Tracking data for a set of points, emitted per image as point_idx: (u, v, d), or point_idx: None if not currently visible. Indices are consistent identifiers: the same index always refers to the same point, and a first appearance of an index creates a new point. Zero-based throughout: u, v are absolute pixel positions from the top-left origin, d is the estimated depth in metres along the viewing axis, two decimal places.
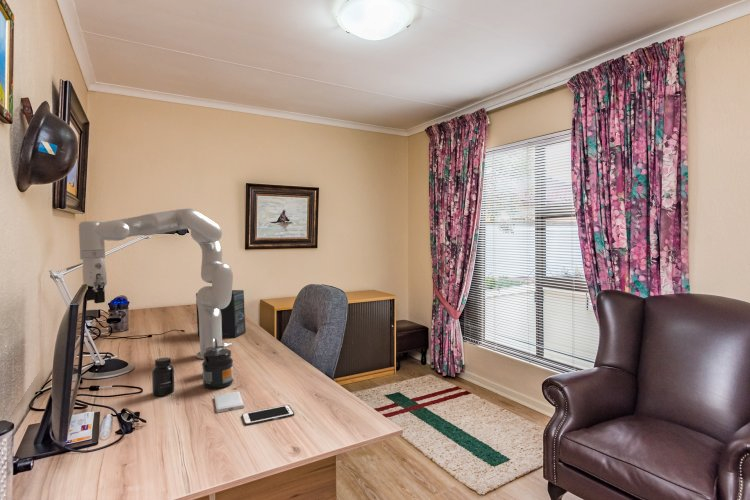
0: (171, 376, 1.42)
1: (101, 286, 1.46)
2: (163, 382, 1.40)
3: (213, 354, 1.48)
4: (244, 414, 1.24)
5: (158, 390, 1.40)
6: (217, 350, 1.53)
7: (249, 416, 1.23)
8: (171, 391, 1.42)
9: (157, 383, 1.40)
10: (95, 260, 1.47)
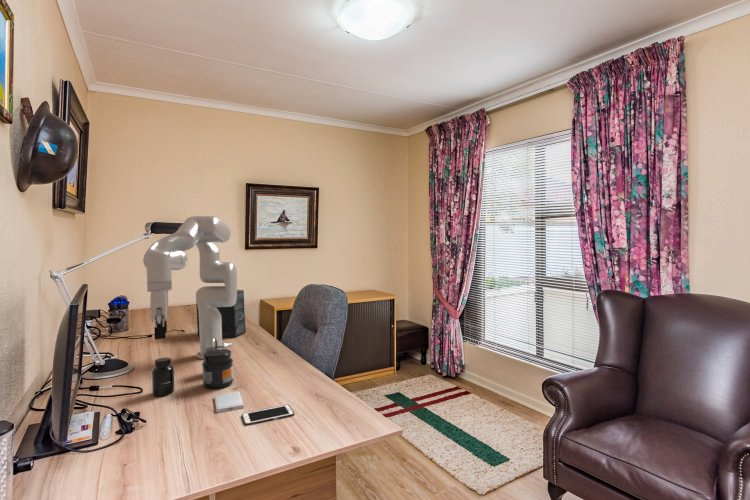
0: (171, 376, 1.42)
1: None
2: (163, 382, 1.40)
3: (213, 354, 1.48)
4: (244, 414, 1.24)
5: (158, 390, 1.40)
6: (217, 350, 1.53)
7: (249, 416, 1.23)
8: (171, 391, 1.42)
9: (157, 383, 1.40)
10: None
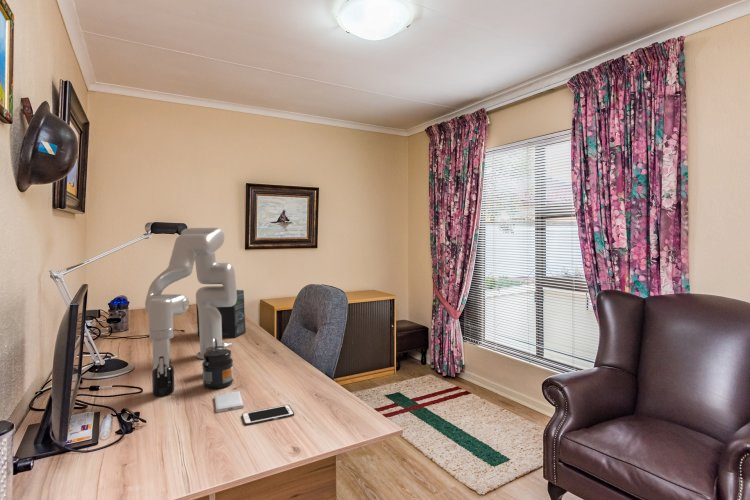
0: (171, 376, 1.42)
1: None
2: None
3: (213, 354, 1.48)
4: (244, 414, 1.24)
5: (158, 390, 1.40)
6: (217, 350, 1.53)
7: (249, 416, 1.23)
8: (171, 391, 1.42)
9: None
10: None
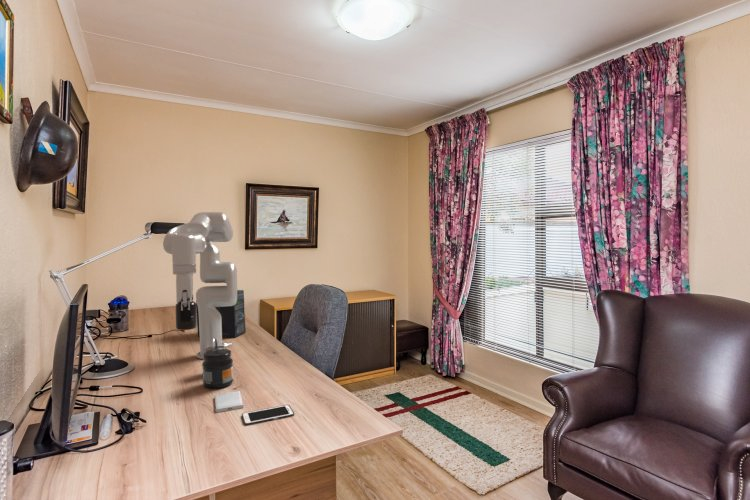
0: (194, 311, 1.45)
1: None
2: None
3: (213, 354, 1.48)
4: (244, 414, 1.24)
5: (181, 323, 1.42)
6: (217, 350, 1.53)
7: (249, 416, 1.23)
8: (194, 326, 1.45)
9: (180, 317, 1.42)
10: None
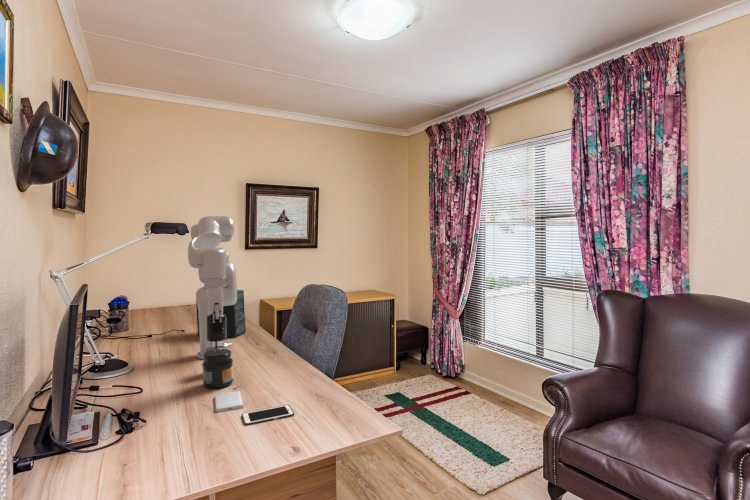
0: (224, 323, 1.49)
1: None
2: None
3: (213, 354, 1.48)
4: (244, 414, 1.25)
5: (213, 335, 1.47)
6: (217, 350, 1.53)
7: (249, 416, 1.23)
8: (224, 337, 1.49)
9: None
10: None
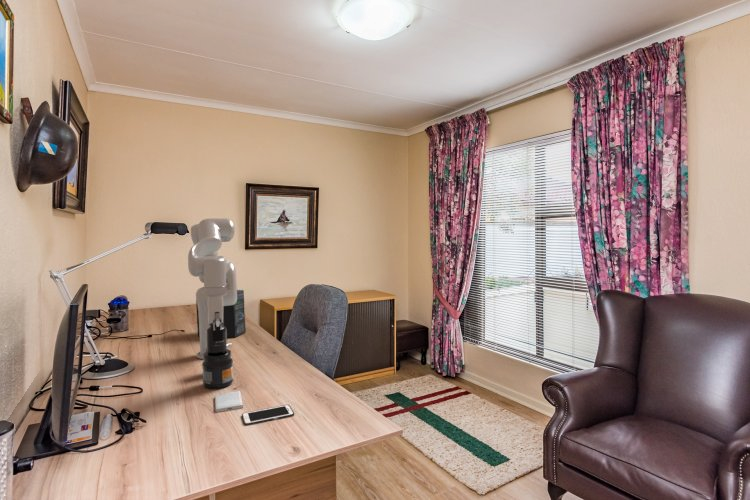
0: (224, 335, 1.50)
1: None
2: None
3: (213, 354, 1.48)
4: (244, 414, 1.25)
5: (213, 348, 1.47)
6: None
7: (249, 416, 1.23)
8: (224, 350, 1.50)
9: (212, 342, 1.47)
10: None
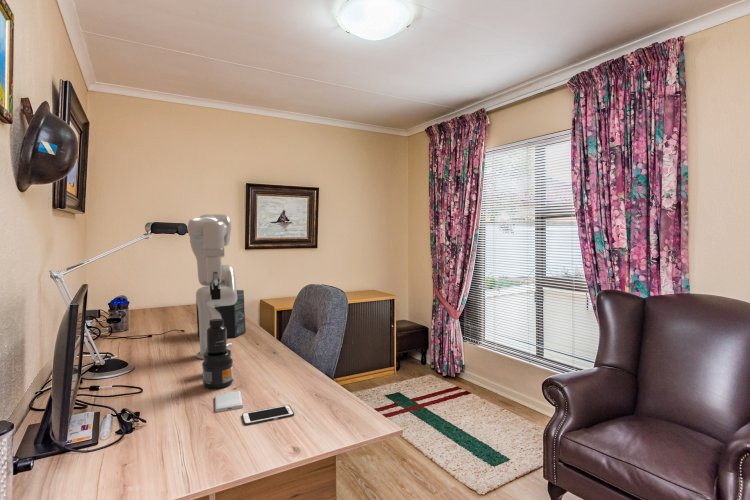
0: (224, 335, 1.50)
1: None
2: (217, 340, 1.47)
3: (213, 354, 1.48)
4: (244, 414, 1.25)
5: (213, 348, 1.47)
6: None
7: (249, 416, 1.23)
8: (224, 350, 1.50)
9: (212, 342, 1.47)
10: None
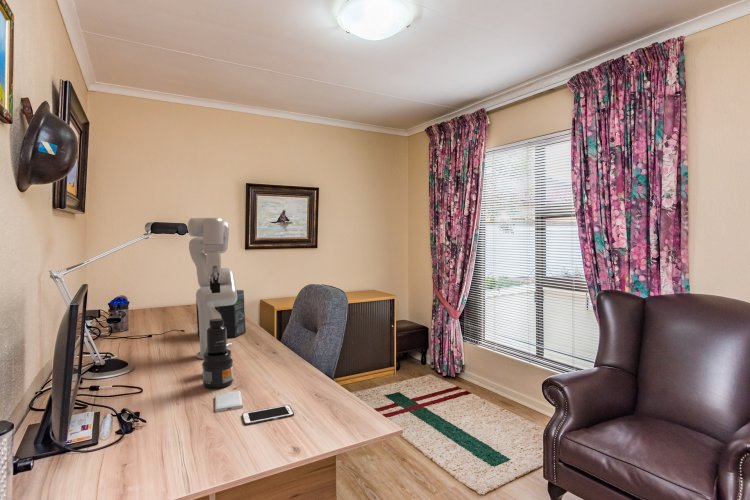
0: (224, 335, 1.50)
1: None
2: (217, 340, 1.47)
3: (213, 354, 1.48)
4: (244, 414, 1.25)
5: (213, 348, 1.47)
6: None
7: (249, 416, 1.23)
8: (224, 350, 1.50)
9: (212, 342, 1.47)
10: None
